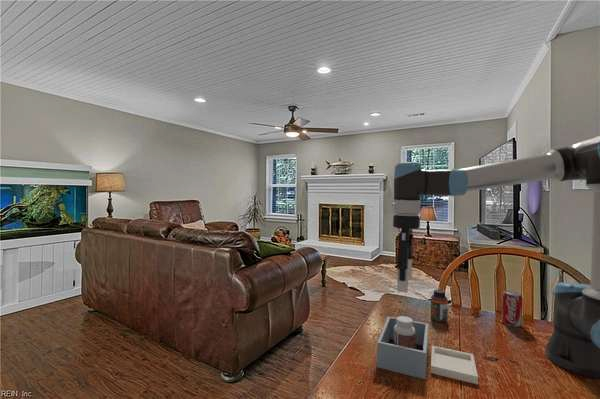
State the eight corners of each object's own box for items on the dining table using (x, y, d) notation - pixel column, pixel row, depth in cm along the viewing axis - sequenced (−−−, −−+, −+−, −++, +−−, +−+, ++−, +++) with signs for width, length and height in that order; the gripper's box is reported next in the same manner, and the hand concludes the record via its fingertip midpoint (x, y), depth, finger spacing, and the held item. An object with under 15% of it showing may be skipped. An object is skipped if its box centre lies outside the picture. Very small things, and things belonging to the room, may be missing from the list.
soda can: (502, 319, 116) (502, 289, 115) (522, 323, 112) (523, 292, 112) (500, 324, 111) (501, 293, 111) (521, 329, 107) (522, 296, 107)
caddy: (427, 345, 95) (428, 323, 94) (425, 379, 77) (426, 353, 77) (387, 336, 100) (388, 316, 100) (376, 367, 82) (377, 342, 82)
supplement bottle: (427, 317, 117) (427, 289, 116) (439, 315, 118) (439, 287, 118) (438, 323, 111) (438, 294, 111) (450, 321, 113) (451, 292, 113)
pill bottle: (419, 357, 88) (420, 320, 87) (406, 363, 84) (407, 325, 84) (402, 348, 93) (402, 313, 93) (389, 353, 89) (389, 317, 89)
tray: (472, 360, 86) (473, 354, 86) (477, 384, 75) (478, 376, 75) (431, 351, 91) (431, 345, 91) (430, 372, 80) (431, 365, 80)
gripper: (398, 212, 101) (397, 273, 101) (386, 216, 78) (385, 295, 79) (422, 213, 98) (420, 276, 98) (417, 217, 75) (415, 300, 75)
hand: (404, 285), depth 88 cm, fingers open, 13 cm apart
